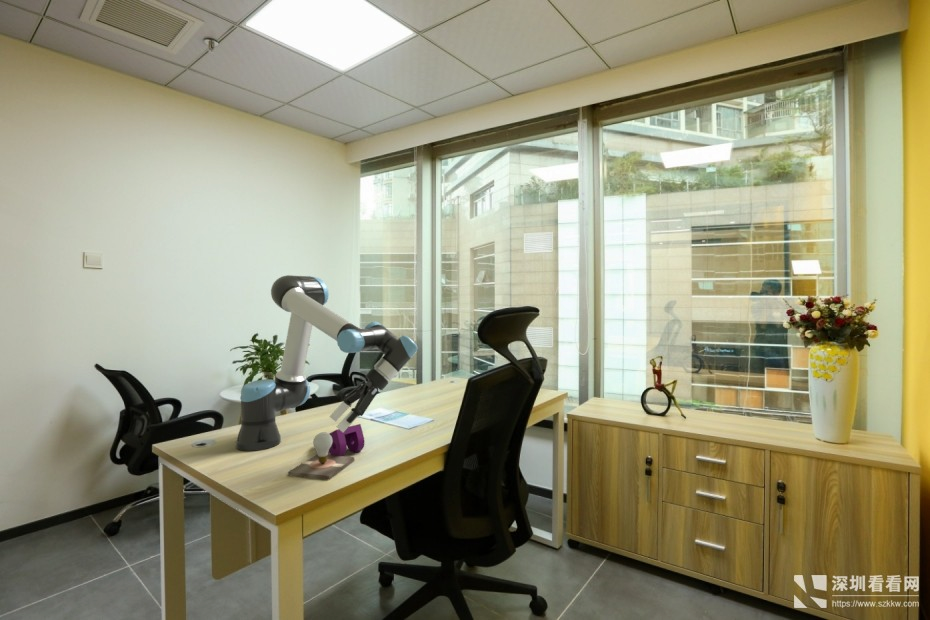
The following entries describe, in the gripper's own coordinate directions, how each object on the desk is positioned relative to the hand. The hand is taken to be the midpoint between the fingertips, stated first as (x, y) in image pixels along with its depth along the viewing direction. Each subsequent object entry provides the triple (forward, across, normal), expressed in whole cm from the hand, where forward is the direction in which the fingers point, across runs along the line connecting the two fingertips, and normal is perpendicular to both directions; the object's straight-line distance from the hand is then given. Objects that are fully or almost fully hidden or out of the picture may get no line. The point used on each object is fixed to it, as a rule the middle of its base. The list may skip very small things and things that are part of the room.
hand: (335, 424), depth 142 cm
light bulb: (+12, 0, -6) cm, 13 cm away
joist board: (+13, 0, -7) cm, 14 cm away
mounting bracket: (+8, +16, -12) cm, 21 cm away
